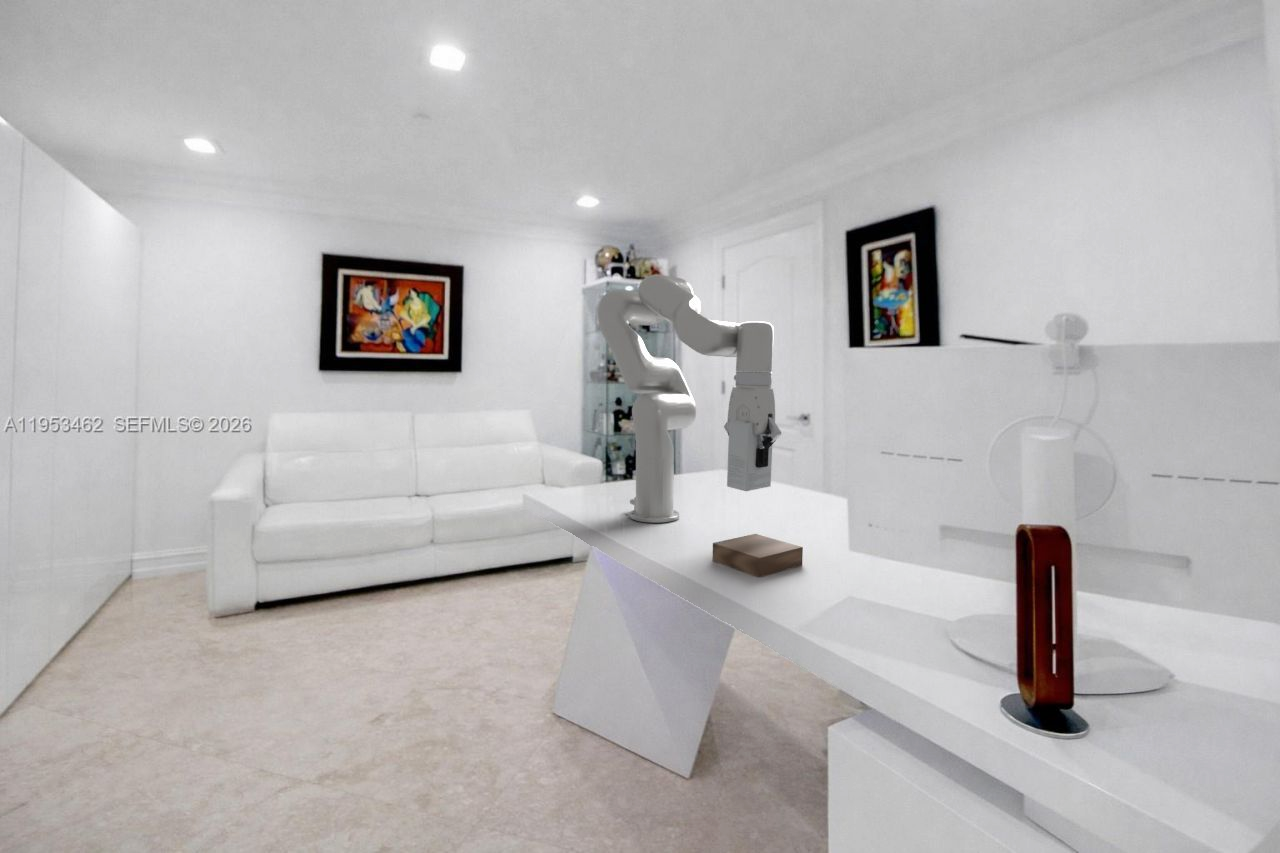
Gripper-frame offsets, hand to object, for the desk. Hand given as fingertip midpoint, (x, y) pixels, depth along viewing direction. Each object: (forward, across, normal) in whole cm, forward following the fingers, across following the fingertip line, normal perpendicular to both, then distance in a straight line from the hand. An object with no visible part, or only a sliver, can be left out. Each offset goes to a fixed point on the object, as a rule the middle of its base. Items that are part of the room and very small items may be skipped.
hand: (750, 463), depth 130 cm
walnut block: (+17, +12, -10) cm, 23 cm away
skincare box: (+5, 0, 0) cm, 5 cm away
